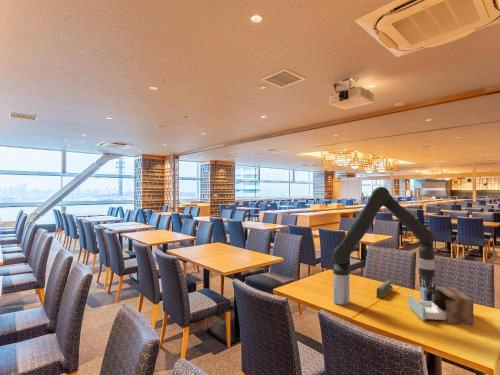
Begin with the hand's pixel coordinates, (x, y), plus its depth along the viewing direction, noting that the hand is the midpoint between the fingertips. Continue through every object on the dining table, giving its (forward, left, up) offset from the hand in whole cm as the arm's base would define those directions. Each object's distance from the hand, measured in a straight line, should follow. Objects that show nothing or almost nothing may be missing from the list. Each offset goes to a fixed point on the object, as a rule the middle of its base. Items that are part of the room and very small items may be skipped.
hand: (427, 298), depth 156 cm
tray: (0, 0, -8) cm, 8 cm away
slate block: (0, 0, -1) cm, 1 cm away
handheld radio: (-12, +32, -9) cm, 35 cm away
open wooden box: (+11, 0, -9) cm, 14 cm away
